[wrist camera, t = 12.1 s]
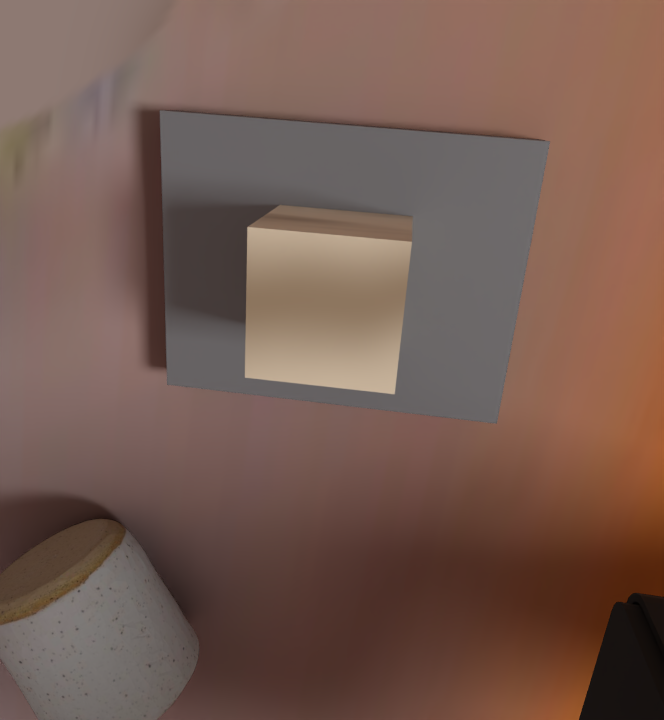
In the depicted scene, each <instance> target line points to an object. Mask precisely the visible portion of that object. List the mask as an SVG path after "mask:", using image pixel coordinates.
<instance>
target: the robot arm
mask: <svg viewBox="0 0 664 720" xmlns="http://www.w3.org/2000/svg"><path fill="white" fill-rule="evenodd" d="M579 720H664V597H660V596H653V595H646V594H640V593H633V594H632V595H631V596H630V597H629V598H628V601H627V603H623V602H616V604H615V605H614V607H613V609H612V612H611V615H610V618H609V622H608V625H607V628H606V632H605V635H604V638H603V642H602V645H601V648H600V652H599V655H598V658H597V662H596V665H595V668H594V671H593V675H592V678H591V681H590V685H589V688H588V691H587V695H586V698H585V701H584V705H583V708H582V711H581V715H580V718H579Z"/></svg>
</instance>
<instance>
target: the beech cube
mask: <svg viewBox="0 0 664 720" xmlns="http://www.w3.org/2000/svg"><path fill="white" fill-rule="evenodd" d="M412 223H413V216H403V215H391V214H379V213H368V212H356V211H345V210H333V209H322V208H310V207H299V206H287V205H279V206H278V207H276V208H275V209H273V210H272V211H270V212H269V213H267V214H266V215H264V216H263V217H261V218H260V219H258V220H257V221H256V222H254V223H253V224H251V225H250V226H248V227H247V281H246V338H245V378H253V379H262V380H271V381H280V382H289V383H298V384H307V385H316V386H325V387H334V388H343V389H352V390H361V391H370V392H379V393H388V394H395V387H396V378H397V369H398V360H399V351H400V343H401V334H402V325H403V316H404V308H405V299H406V290H407V281H408V272H409V264H410V255H411V246H412Z"/></svg>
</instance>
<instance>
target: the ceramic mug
mask: <svg viewBox="0 0 664 720" xmlns="http://www.w3.org/2000/svg"><path fill="white" fill-rule="evenodd" d="M198 656H199V641H198V638H197V636H196V633H195V632H194V630H193V628H192V627H191V625H190V624H189V622H188V621H187V620H186V618H185V617H184V615H183V613H182V612H181V610H180V608H179V606H178V604H177V603H176V601H175V600H174V598H173V597H172V595H171V593H170V592H169V590H168V589H167V587H166V586H165V584H164V583H163V581H162V580H161V578H160V577H159V575H158V574H157V572H156V571H155V569H154V567H153V566H152V564H151V562H150V560H149V558H148V557H147V555H146V553H145V552H144V550H143V549H142V547H141V546H140V544H139V543H138V541H137V540H136V539H135V538H134V536H133V535H132V534H131V533H130V532H129V531H128V530H127V529H126V528H125V527H124V526H122V525H121V524H120V523H119V522H117V521H114V520H109V519H94V520H89V521H85V522H82V523H80V524H77V525H74V526H71V527H69V528H67V529H65V530H63V531H61V532H59V533H57V534H55V535H53V536H51V537H50V538H48V539H46V540H45V541H43V542H42V543H40V544H38V545H37V546H35V547H34V548H32V549H31V550H29V551H28V552H26V553H25V554H24V555H22V556H21V557H20V558H18V559H17V560H16V561H15V562H13V563H12V564H11V565H10V566H9V567H8V568H6V569H5V570H4V571H3V572H2V573H1V574H0V659H1V660H2V662H3V663H4V665H5V667H6V668H7V670H8V671H9V672H10V674H11V675H12V677H13V678H14V680H15V681H16V683H17V685H18V686H19V688H20V690H21V691H22V693H23V695H24V696H25V698H26V700H27V701H28V703H29V705H30V706H31V708H32V710H33V712H34V713H35V715H36V717H37V718H38V720H157V719H158V718H159V717H160V716H161V715H162V714H163V713H164V712H165V711H166V710H167V709H168V708H169V707H170V706H171V705H172V704H173V703H174V702H175V700H176V699H177V698H178V696H179V695H180V694H181V692H182V691H183V689H184V687H185V686H186V684H187V683H188V681H189V680H190V678H191V676H192V674H193V672H194V670H195V667H196V664H197V661H198Z"/></svg>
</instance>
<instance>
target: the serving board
mask: <svg viewBox="0 0 664 720" xmlns="http://www.w3.org/2000/svg"><path fill="white" fill-rule="evenodd" d="M160 137H161V175H162V212H163V249H164V287H165V324H166V361H167V385H175V386H184V387H192V388H201V389H209V390H218V391H226V392H234V393H243V394H251V395H260V396H268V397H277V398H285V399H294V400H302V401H310V402H319V403H327V404H336V405H344V406H353V407H361V408H370V409H378V410H386V411H395V412H403V413H412V414H420V415H429V416H437V417H445V418H454V419H462V420H471V421H479V422H488V423H496V424H497V420H498V414H499V409H500V404H501V398H502V393H503V388H504V382H505V377H506V372H507V367H508V361H509V356H510V351H511V345H512V340H513V335H514V329H515V324H516V319H517V314H518V308H519V303H520V298H521V292H522V287H523V282H524V276H525V271H526V266H527V260H528V255H529V250H530V245H531V239H532V234H533V229H534V223H535V218H536V213H537V207H538V202H539V197H540V192H541V186H542V181H543V176H544V170H545V165H546V160H547V154H548V149H549V144H550V141H545V140H538V139H525V138H513V137H500V136H487V135H475V134H462V133H450V132H437V131H425V130H412V129H400V128H387V127H375V126H362V125H349V124H337V123H324V122H312V121H299V120H287V119H274V118H262V117H249V116H237V115H224V114H211V113H199V112H186V111H171V110H160ZM279 205H287V206H299V207H310V208H322V209H333V210H345V211H356V212H368V213H379V214H391V215H403V216H413V223H412V246H411V255H410V264H409V272H408V281H407V290H406V299H405V308H404V316H403V325H402V334H401V343H400V351H399V360H398V369H397V378H396V387H395V394H388V393H379V392H370V391H361V390H352V389H343V388H334V387H325V386H316V385H307V384H298V383H289V382H280V381H271V380H262V379H253V378H245V338H246V281H247V227H248V226H250V225H251V224H253V223H254V222H256V221H257V220H258V219H260V218H261V217H263V216H264V215H266V214H267V213H269V212H270V211H272V210H273V209H275V208H276V207H278V206H279Z"/></svg>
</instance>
